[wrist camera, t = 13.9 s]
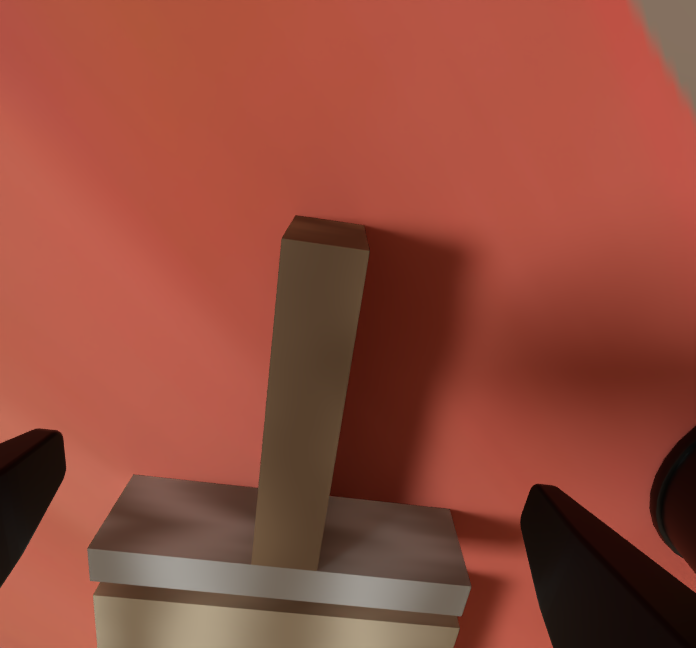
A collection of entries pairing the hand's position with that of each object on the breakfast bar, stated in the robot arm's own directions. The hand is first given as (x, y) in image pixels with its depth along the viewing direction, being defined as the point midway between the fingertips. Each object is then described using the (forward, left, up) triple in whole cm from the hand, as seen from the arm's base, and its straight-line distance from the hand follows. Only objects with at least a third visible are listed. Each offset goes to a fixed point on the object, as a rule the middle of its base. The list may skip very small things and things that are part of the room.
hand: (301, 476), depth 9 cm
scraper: (0, -3, -9) cm, 10 cm away
